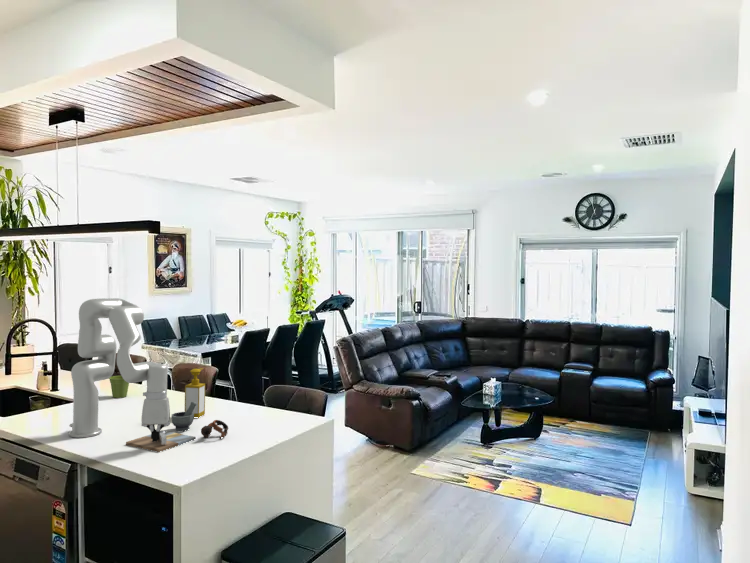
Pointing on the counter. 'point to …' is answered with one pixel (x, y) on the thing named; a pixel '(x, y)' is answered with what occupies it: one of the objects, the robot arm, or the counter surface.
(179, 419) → the mortar and pestle
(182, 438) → the latch board
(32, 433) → the counter surface
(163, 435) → the bar
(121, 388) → the plant pot
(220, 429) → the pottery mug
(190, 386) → the white and gold bottle
